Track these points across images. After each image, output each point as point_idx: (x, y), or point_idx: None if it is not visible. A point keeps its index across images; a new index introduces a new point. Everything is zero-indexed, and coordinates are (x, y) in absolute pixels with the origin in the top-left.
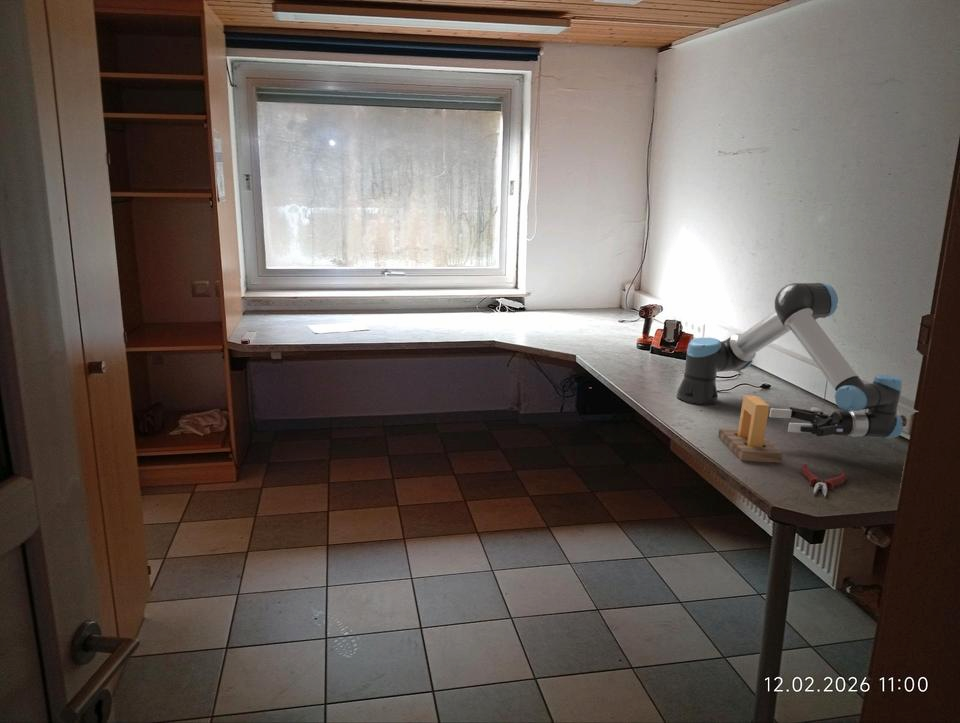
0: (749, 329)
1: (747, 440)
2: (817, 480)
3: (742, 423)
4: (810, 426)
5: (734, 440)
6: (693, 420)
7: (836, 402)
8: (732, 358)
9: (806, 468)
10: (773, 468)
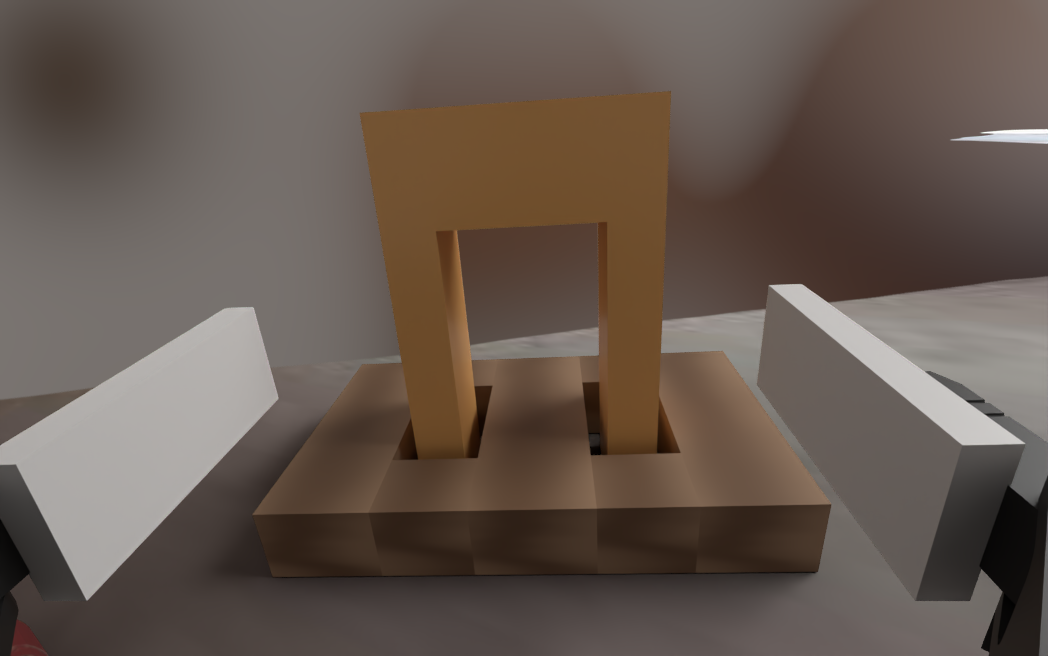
0: None
1: (526, 407)
2: None
3: (599, 310)
4: (7, 487)
5: (518, 365)
6: (969, 363)
7: None
8: None
9: None
10: (216, 503)
